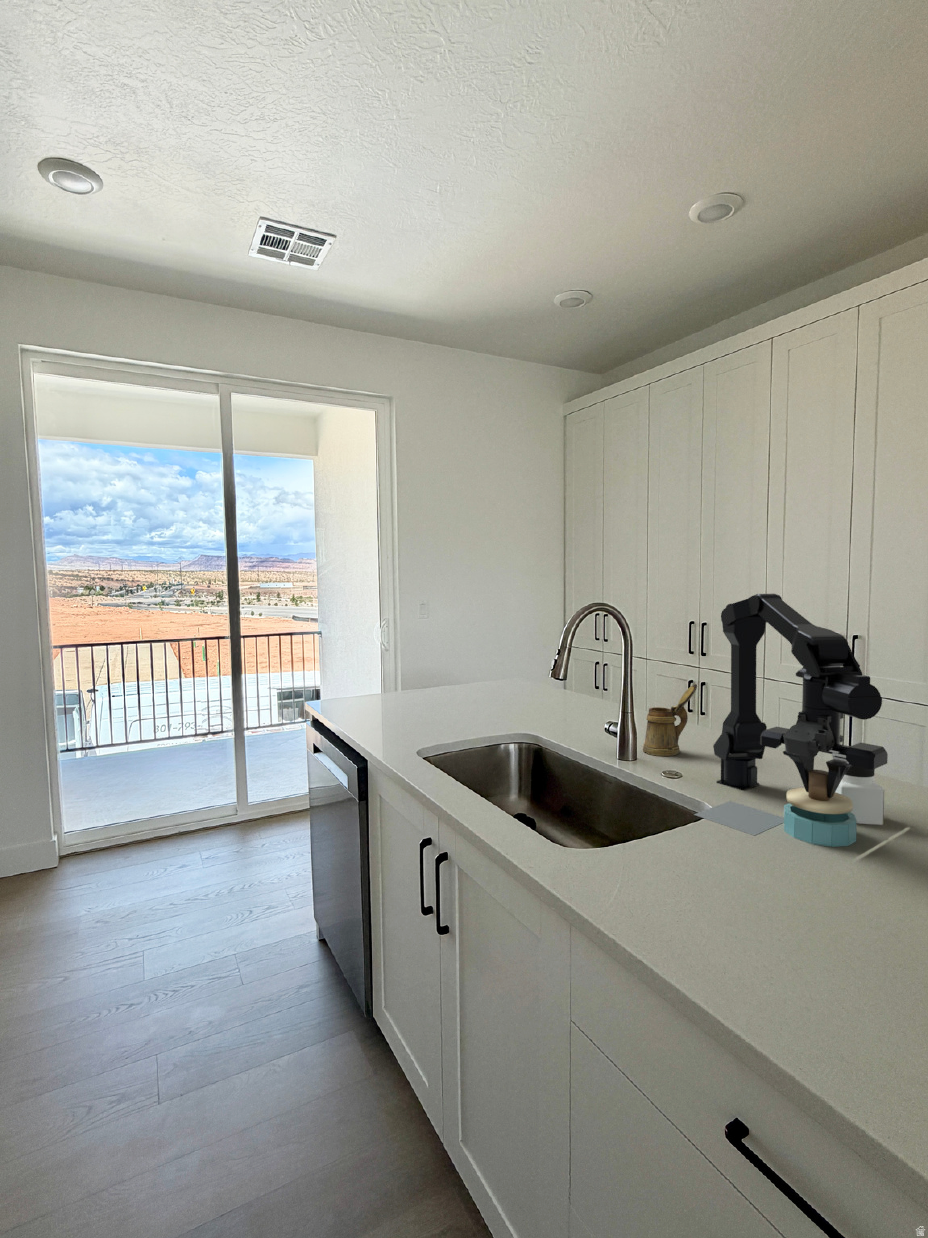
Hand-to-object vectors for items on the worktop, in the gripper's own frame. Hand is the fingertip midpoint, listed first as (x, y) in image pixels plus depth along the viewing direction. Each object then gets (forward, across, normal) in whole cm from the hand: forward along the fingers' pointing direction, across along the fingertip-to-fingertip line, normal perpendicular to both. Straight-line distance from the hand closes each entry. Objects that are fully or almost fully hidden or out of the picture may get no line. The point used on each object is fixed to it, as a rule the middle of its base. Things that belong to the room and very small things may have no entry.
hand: (819, 794), depth 107 cm
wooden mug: (+8, -48, +23) cm, 54 cm away
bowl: (+7, 0, 0) cm, 7 cm away
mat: (+7, -12, -4) cm, 14 cm away
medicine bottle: (+7, 0, +13) cm, 15 cm away
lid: (+2, 0, 0) cm, 2 cm away
